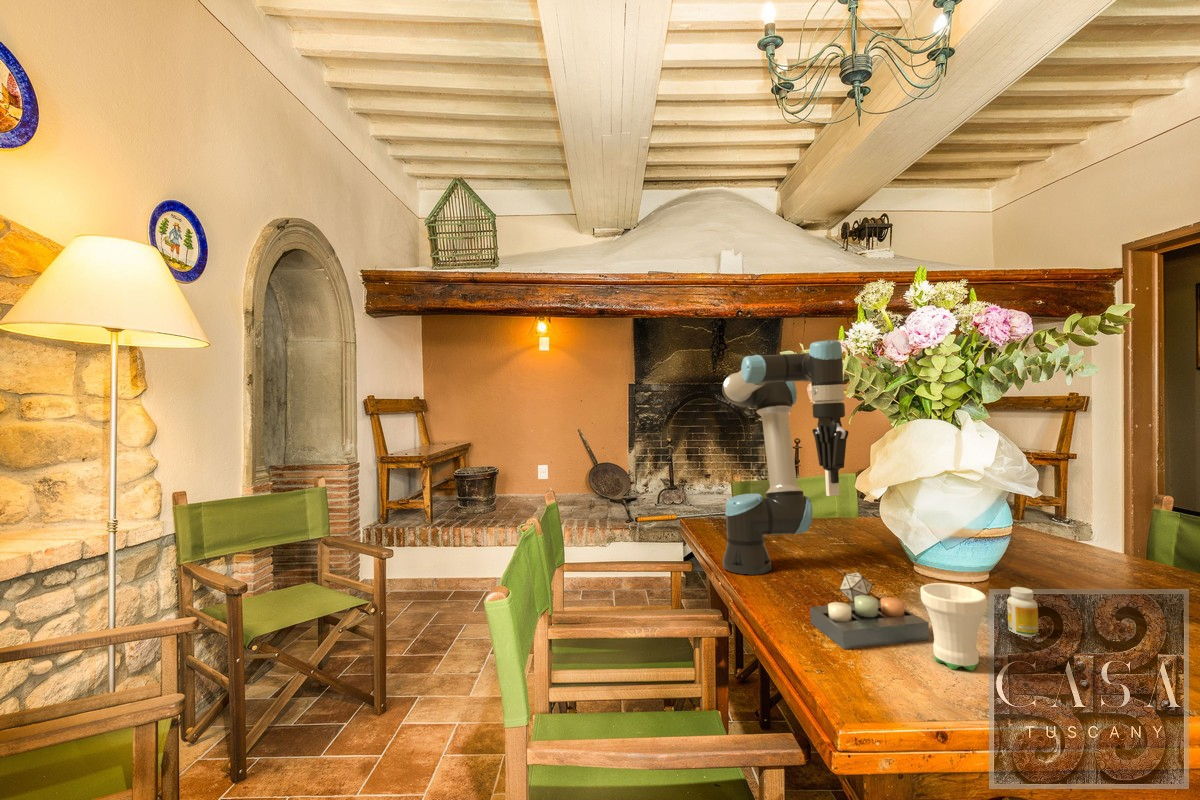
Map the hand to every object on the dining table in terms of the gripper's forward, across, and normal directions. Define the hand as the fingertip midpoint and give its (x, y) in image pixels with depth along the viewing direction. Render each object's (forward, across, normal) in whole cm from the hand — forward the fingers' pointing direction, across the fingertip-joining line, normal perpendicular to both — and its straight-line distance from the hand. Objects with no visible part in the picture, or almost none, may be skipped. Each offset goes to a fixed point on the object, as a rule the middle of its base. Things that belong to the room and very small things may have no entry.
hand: (832, 495), depth 137 cm
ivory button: (+26, +12, -7) cm, 29 cm away
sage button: (+25, +12, 0) cm, 28 cm away
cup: (+30, +29, +8) cm, 42 cm away
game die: (+30, -5, +8) cm, 31 cm away
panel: (+29, +12, 0) cm, 32 cm away
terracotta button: (+26, +12, +6) cm, 29 cm away
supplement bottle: (+30, +20, +32) cm, 48 cm away
